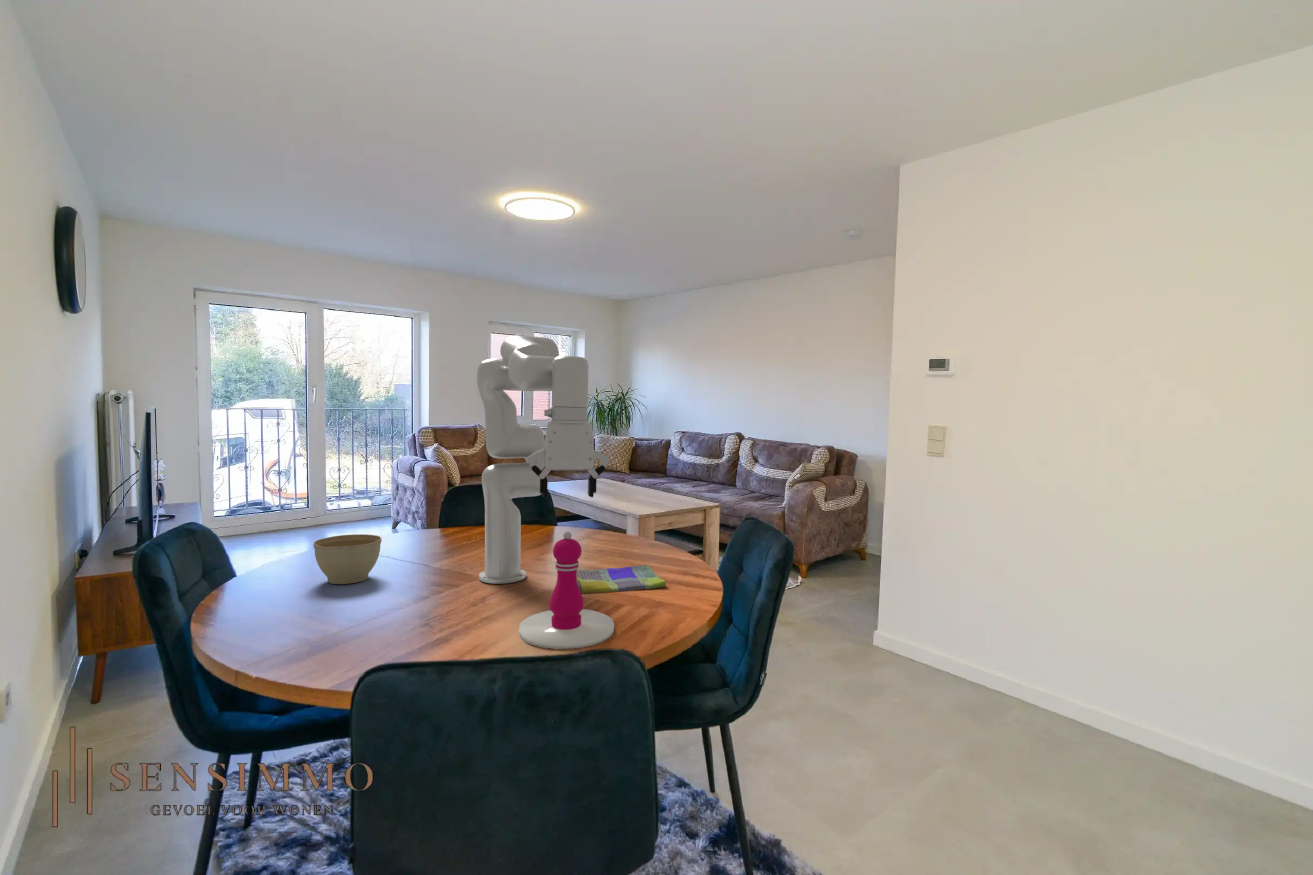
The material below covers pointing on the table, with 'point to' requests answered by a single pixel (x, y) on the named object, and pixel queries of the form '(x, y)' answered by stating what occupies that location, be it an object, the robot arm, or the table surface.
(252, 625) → the table surface
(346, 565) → the planter bowl
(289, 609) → the table surface
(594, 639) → the disc
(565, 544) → the pepper mill
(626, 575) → the dish towel
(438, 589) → the table surface
